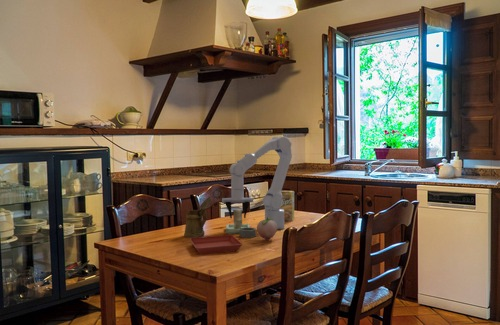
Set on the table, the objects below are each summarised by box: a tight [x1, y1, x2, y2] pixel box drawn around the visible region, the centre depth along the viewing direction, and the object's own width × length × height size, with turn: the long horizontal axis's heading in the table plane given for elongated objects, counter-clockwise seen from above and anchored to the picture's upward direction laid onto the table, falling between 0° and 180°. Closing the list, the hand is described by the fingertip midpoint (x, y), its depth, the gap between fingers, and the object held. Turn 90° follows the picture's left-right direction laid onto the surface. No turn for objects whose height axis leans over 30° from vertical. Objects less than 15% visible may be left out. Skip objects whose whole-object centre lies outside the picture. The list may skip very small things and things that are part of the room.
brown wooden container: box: [183, 196, 212, 239], centre depth 202 cm, size 9×14×18 cm, turn 61°
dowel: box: [232, 208, 243, 229], centre depth 213 cm, size 4×4×9 cm
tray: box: [225, 223, 251, 235], centre depth 213 cm, size 11×12×2 cm
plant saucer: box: [189, 234, 243, 255], centre depth 181 cm, size 18×18×3 cm
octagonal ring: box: [239, 226, 257, 239], centre depth 202 cm, size 7×7×3 cm
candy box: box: [280, 190, 295, 222], centre depth 240 cm, size 9×4×15 cm, turn 70°
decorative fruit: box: [256, 217, 278, 241], centre depth 193 cm, size 9×8×10 cm
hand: (237, 217), depth 213 cm, fingers open, 6 cm apart
